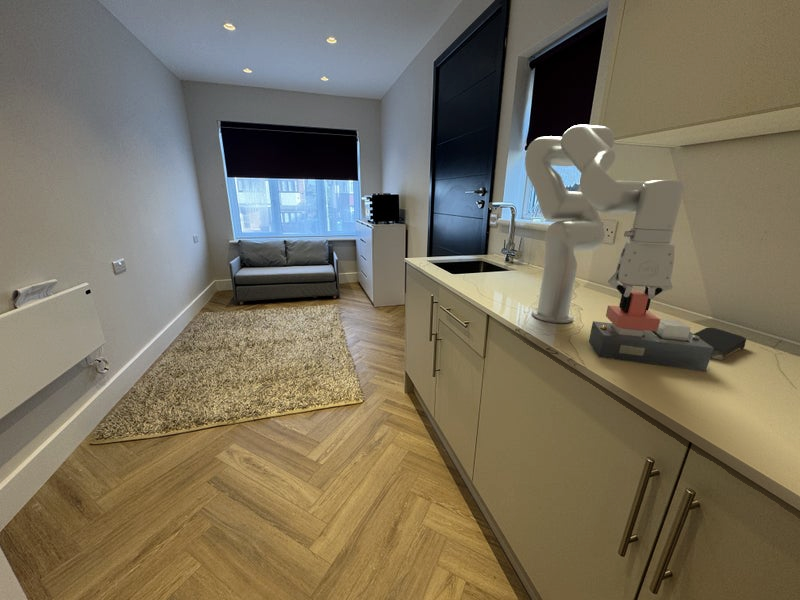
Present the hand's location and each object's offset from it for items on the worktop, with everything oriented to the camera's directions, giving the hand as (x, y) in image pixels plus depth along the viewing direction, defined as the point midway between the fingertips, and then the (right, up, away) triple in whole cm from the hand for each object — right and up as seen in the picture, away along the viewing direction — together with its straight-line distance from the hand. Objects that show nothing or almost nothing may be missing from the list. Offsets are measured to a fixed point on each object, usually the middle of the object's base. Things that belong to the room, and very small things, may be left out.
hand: (632, 311), depth 79 cm
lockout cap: (0, -3, +1) cm, 3 cm away
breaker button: (0, -8, +3) cm, 8 cm away
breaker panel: (+4, -11, +2) cm, 12 cm away
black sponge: (+27, -11, +7) cm, 29 cm away
